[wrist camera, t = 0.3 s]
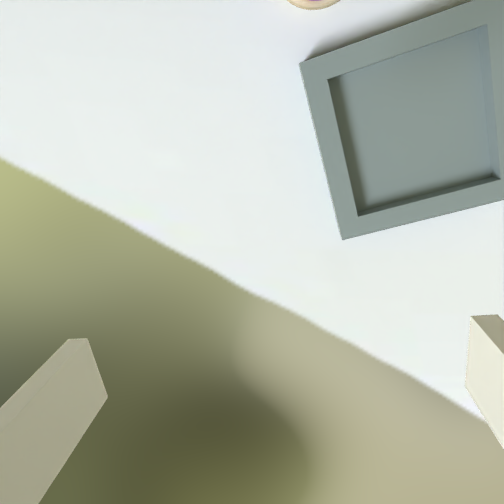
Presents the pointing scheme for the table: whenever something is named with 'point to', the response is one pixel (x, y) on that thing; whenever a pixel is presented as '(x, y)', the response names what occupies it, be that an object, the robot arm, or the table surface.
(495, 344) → the robot arm
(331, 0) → the stacking toy
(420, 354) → the table surface
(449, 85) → the gray square tray
